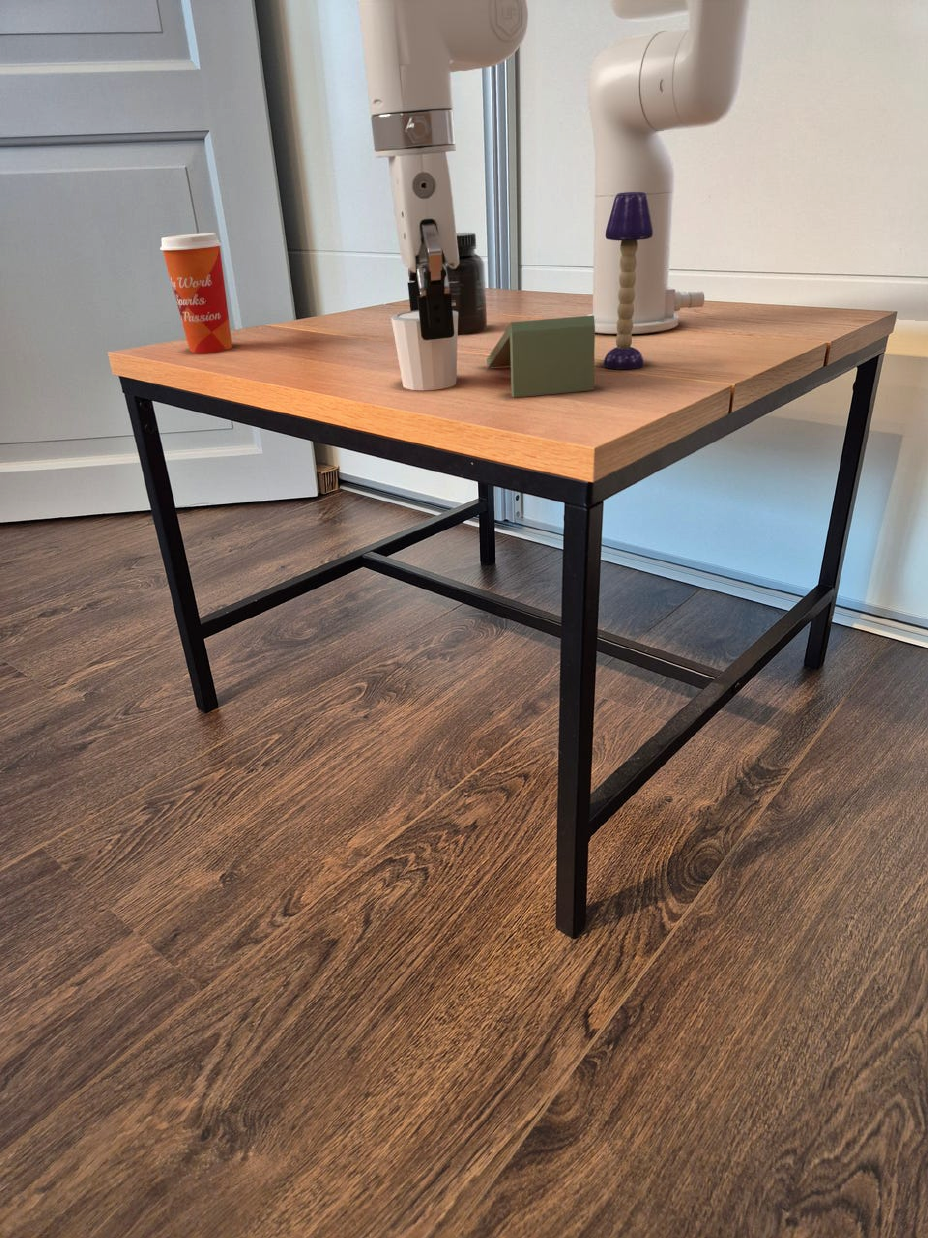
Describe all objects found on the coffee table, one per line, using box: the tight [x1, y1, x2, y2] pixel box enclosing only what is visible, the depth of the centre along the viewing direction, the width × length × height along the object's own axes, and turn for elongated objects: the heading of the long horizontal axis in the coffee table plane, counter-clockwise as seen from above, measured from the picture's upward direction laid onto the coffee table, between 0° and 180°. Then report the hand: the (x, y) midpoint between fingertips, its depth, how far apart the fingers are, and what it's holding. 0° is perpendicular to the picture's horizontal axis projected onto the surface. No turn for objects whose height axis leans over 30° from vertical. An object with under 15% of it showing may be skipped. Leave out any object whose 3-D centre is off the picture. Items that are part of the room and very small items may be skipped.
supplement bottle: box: [446, 232, 488, 335], centre depth 112 cm, size 7×7×12 cm
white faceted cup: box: [390, 310, 459, 391], centre depth 86 cm, size 7×7×7 cm
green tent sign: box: [486, 315, 596, 399], centre depth 85 cm, size 14×8×7 cm, turn 9°
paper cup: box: [159, 232, 233, 354], centre depth 109 cm, size 8×8×14 cm
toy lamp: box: [603, 192, 653, 370], centre depth 86 cm, size 5×5×17 cm
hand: (432, 328), depth 85 cm, fingers open, 9 cm apart
